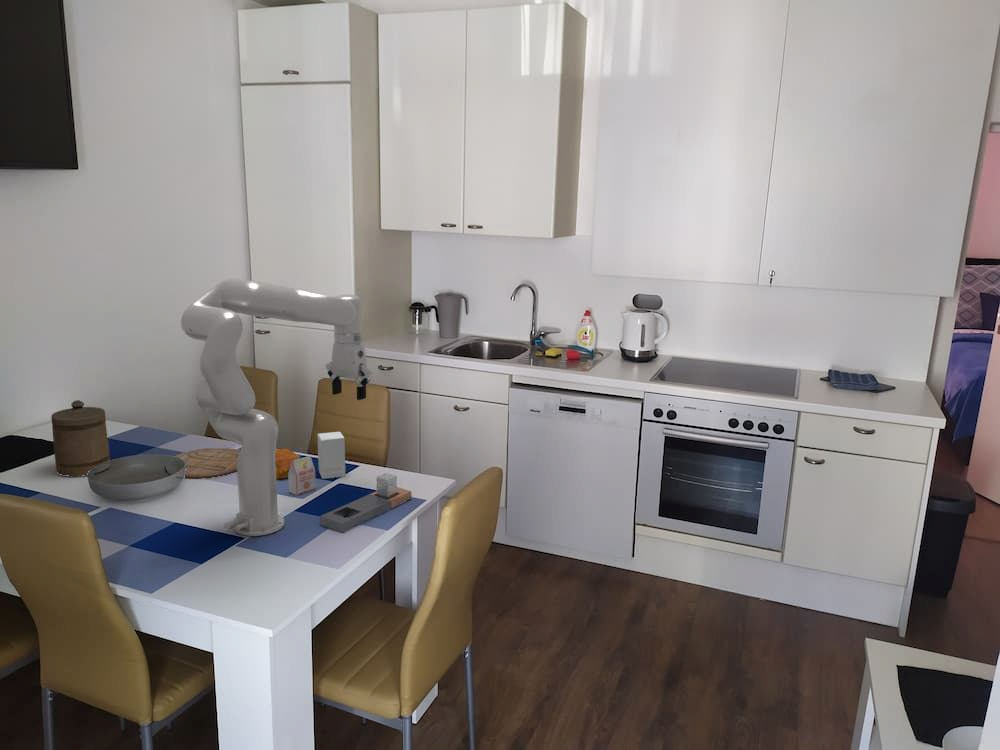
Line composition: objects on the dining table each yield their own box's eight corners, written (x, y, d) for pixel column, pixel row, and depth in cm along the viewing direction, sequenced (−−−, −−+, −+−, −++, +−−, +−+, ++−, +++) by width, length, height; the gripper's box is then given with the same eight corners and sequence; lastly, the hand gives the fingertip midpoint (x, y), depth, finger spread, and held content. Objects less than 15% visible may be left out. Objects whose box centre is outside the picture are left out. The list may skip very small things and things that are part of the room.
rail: (342, 532, 200) (341, 523, 199) (320, 525, 204) (319, 516, 204) (411, 499, 223) (411, 491, 222) (390, 493, 227) (390, 485, 226)
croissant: (247, 478, 242) (242, 455, 240) (291, 460, 252) (287, 438, 250) (270, 490, 232) (265, 465, 229) (315, 471, 242) (310, 448, 240)
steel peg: (387, 506, 217) (387, 479, 215) (376, 503, 219) (376, 476, 217) (396, 502, 221) (396, 475, 219) (385, 499, 223) (385, 472, 221)
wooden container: (105, 458, 250) (98, 392, 245) (115, 471, 239) (108, 403, 234) (53, 466, 241) (45, 399, 236) (61, 481, 230) (53, 410, 225)
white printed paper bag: (288, 492, 226) (287, 459, 223) (307, 486, 231) (306, 454, 229) (296, 495, 224) (295, 462, 221) (315, 489, 229) (314, 457, 226)
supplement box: (346, 476, 239) (345, 437, 236) (321, 479, 236) (320, 440, 233) (341, 468, 246) (340, 431, 243) (318, 471, 243) (316, 433, 240)
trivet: (225, 482, 233) (225, 476, 232) (149, 476, 236) (148, 470, 236) (262, 456, 257) (262, 450, 256) (192, 450, 260) (192, 445, 260)
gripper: (379, 340, 218) (380, 398, 222) (335, 333, 227) (337, 389, 231) (361, 344, 212) (362, 404, 216) (316, 336, 221) (318, 394, 225)
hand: (349, 396), depth 224 cm, fingers open, 9 cm apart
